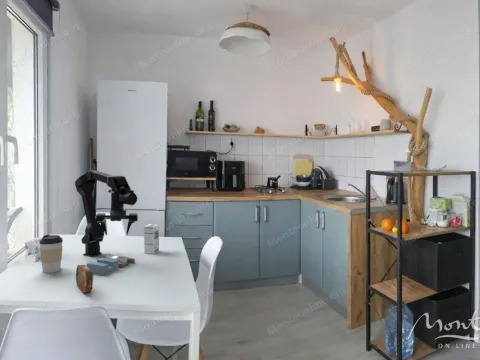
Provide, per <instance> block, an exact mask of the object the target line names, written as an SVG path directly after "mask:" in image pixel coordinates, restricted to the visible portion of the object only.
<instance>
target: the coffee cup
mask: <svg viewBox="0 0 480 360" xmlns="http://www.w3.org/2000/svg"><path fill="white" fill-rule="evenodd" d="M63 242H64V239H63V237H61V236H60V235H57V234H51V235H50V234H44V235H43V236H42V238H41V239H39V243H38V244H39V252H40V261H41V269H42V272H43V273H55V272H59V271H60V270H61V267H62V264H61V263H62V255H63Z"/></svg>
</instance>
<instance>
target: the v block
mask: <svg viewBox="0 0 480 360" xmlns="http://www.w3.org/2000/svg"><path fill="white" fill-rule="evenodd" d="M86 266H87V267H88V268H89V269H90V270H91V271H92V273H93V275H98V276H106V275H108V274H110V273H112V272H115V271H117V270H119V268H118V260H113V259H107V258H106V257H100V258H97V259H96V261H89V262H87V263H86Z"/></svg>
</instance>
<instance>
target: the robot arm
mask: <svg viewBox="0 0 480 360" xmlns="http://www.w3.org/2000/svg"><path fill="white" fill-rule="evenodd" d="M97 182H101V183H104V184H106V185H107V187H109V188H110V189H109V190H108V191H107V192H108V193H110V211H109V215H108V214H106V213H105V212H103V213H101V212H100V213H99V212H96V206H95V201H94V197H93V196H94V195H93V193H94V191H95V185H96V183H97ZM74 185H75V186H74V187H75V188H76V191H77V193H79V195H80V196H81V200H82V204H83V209H84V213H85V214H84V215H85V220H86V226H85V229H84V235H83V237H82V238H81V243H82V244H83V245H84V247H85V248H84V251H85V252H84V253H82V256H87V257H96V256H99V255H102V252H101V245H100V242H101V243H102V242H103V240H104V236H108V226H107V225H108V224H107V220H110V221H111V222H115V221H116V222H121V221H122V220H128V221H127V228H126V236H128V234H129V231H130V228H131V226H132V224H133V223H136V222H138V221H139V220H138V219H139V217H138V216H139V214H138V213H135V212H134V213H133V212H130V213H129V214H127V209H125V208H124V207H125V205H127V206H128V205H129V206H134V205H136V203H137V202H138V195H137V194H136V193H135V190H133V189H131V186H130V185H129V182H128V180H127V179H126V177H125V176H124V175H113V174H112V175H111V174H108V173H105V172H102V171H99V170H97V169H96V170H95V169H94V170H91V169H89V170H88V171H86V172H85V173H84V174H82V175H80V176H79V177H78V178H77V179H76V180H75V181H74Z"/></svg>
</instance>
